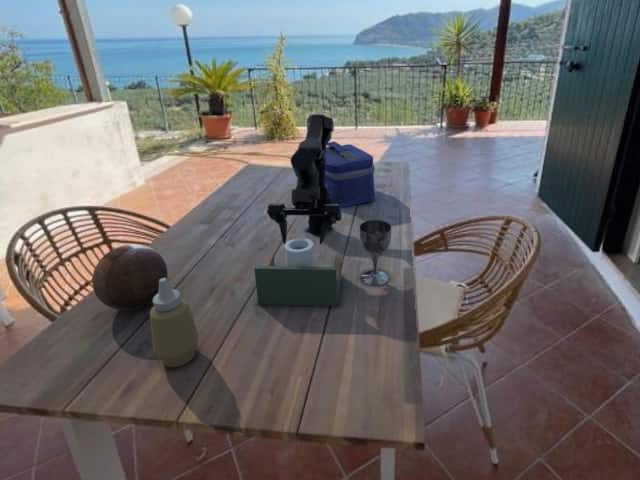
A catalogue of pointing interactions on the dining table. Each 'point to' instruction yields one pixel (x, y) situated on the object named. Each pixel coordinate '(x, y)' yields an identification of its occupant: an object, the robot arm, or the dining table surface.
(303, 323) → the dining table surface
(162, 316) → the squeeze bottle
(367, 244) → the wine glass
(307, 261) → the storage jar
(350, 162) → the lunch bag
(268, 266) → the cubby cabinet
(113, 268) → the wooden sphere
